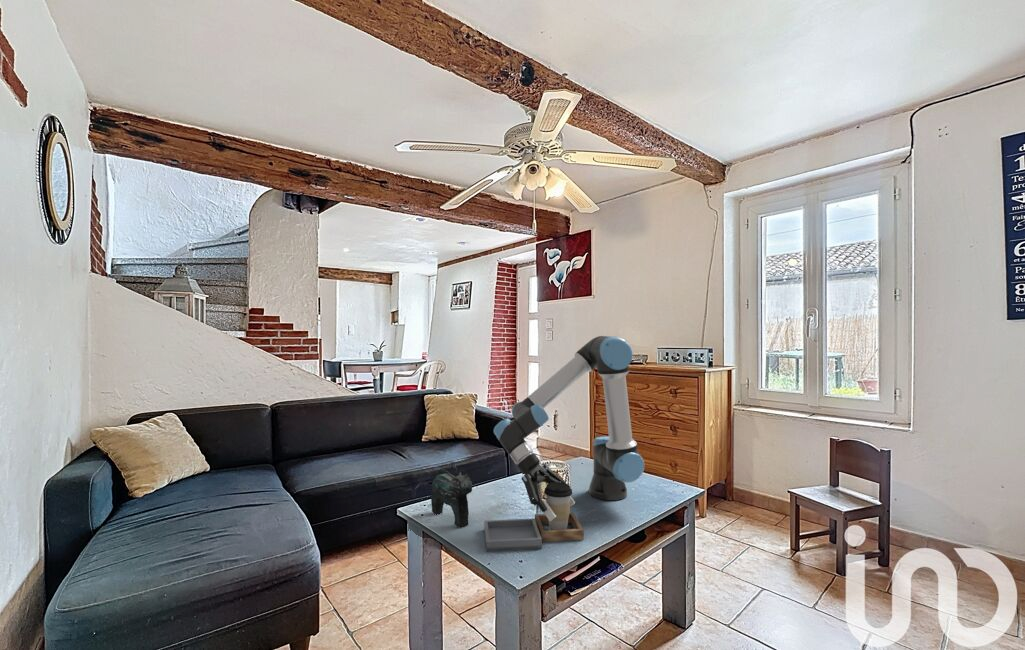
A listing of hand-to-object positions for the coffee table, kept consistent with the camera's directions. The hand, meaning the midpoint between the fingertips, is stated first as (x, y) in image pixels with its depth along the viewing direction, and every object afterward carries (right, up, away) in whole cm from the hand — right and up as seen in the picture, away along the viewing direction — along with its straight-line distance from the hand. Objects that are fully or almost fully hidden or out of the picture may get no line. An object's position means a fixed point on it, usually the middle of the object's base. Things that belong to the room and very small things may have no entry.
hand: (563, 512), depth 152 cm
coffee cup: (-2, -7, +1) cm, 7 cm away
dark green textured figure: (-39, -7, +10) cm, 41 cm away
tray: (-17, -7, -4) cm, 19 cm away
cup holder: (-2, -7, +1) cm, 7 cm away
